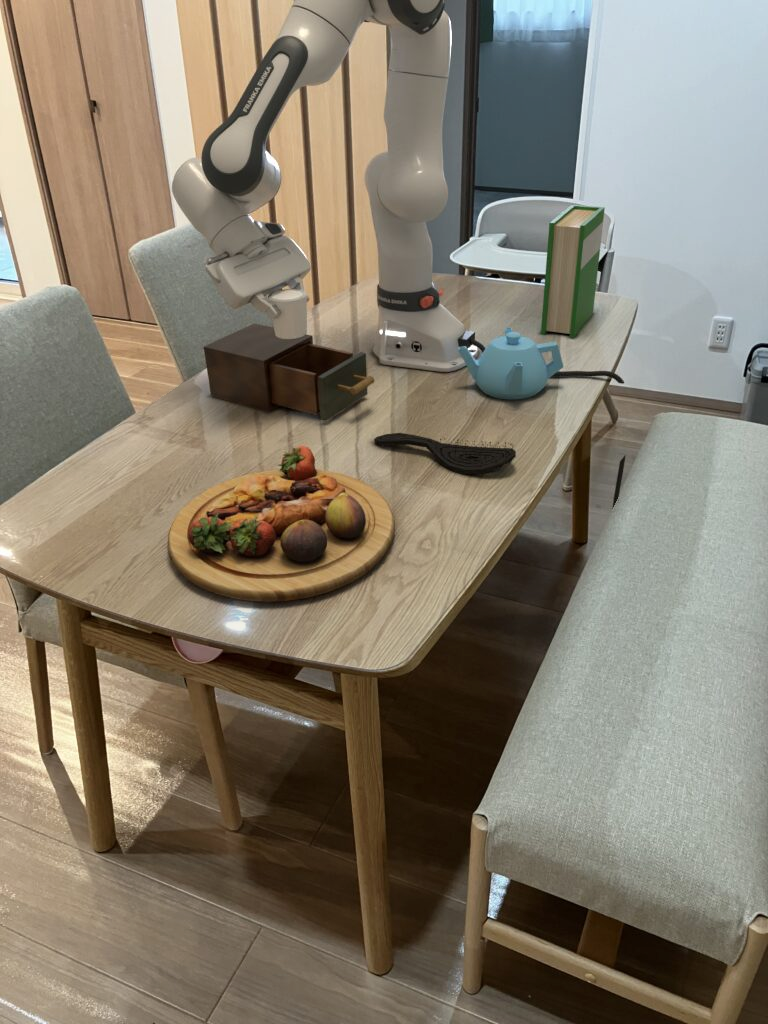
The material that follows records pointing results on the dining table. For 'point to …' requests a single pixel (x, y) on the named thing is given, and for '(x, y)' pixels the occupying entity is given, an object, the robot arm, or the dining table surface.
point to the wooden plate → (281, 532)
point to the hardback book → (572, 269)
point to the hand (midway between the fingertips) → (291, 309)
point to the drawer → (318, 380)
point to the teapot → (512, 366)
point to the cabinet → (247, 364)
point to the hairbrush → (455, 453)
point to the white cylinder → (290, 313)
